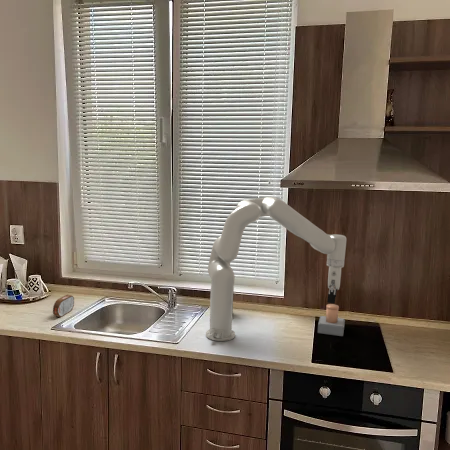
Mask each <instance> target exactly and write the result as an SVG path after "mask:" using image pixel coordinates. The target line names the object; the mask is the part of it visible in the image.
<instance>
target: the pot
mask: <svg viewBox="0 0 450 450" xmlns="http://www.w3.org/2000/svg"><path fill="white" fill-rule="evenodd" d="M339 308H340V307H339V305H338V304H335V303H334V304H333V303H327V304H326V309H325V311H326V312H325V316H326V322H328V323H337V322H338V318H339V310H340V309H339Z"/></svg>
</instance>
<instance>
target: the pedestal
mask: <svg viewBox="0 0 450 450" xmlns="http://www.w3.org/2000/svg"><path fill="white" fill-rule="evenodd" d="M345 322H346V320H345V318H340V317H338V322H337V323H328V322H326V315H325V316H324V315H320V316H319V320H318V324H317V334H324V335H330V336H339V337H344V330H345Z"/></svg>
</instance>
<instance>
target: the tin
mask: <svg viewBox="0 0 450 450" xmlns="http://www.w3.org/2000/svg"><path fill="white" fill-rule="evenodd" d="M74 306H75V297H74V295H71V294H65V295H63V296H61V297H60V298H57V299H56V301H54V304H53V305H52V313H53V316H54V317H58V318H62V317H63V316H65V315H67V314H68V313H70V312H72V310H73V309H74Z"/></svg>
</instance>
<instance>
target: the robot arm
mask: <svg viewBox="0 0 450 450" xmlns="http://www.w3.org/2000/svg"><path fill="white" fill-rule="evenodd" d="M263 217H270V218H272V219H273V220H274V221H275V222H277V223H278V224H280V225H281V226H282V227H283V228H285V229H286V230H287V231H288V232H289V233H292V234H293V235H294V236H297V238H298V237H299V238H301V239H302V240H304V241H305V242H307V243H308V244H309V245H310V247H311V248H312V249H314V250H316V251H317V252H320V253H321V254H324V255H326V266H327V267H328V273H327V274H328V275H327V276H328V277H327V288H328V289H329V290H328V293H327V301H326V302H327V304H335V303H336V298H337V291H339V290H340V286H341V279H342V278H341V277H342V268H344V267H345V257H346V248H347V237H346V236H345V235H343V234H336V233H335V234H334V233H333V234H328V233H326V232H325V231H323V229H321V228H319V227H318V226H316V224H314V223H312V221H310V220H309V219H307V218H306V217H304V216H303V215H302V214H300V213H299V212H298V211H296V210H295V209H294V208H293V207H291V206H290V204H289V205H288V204H287V203H286V202H285V201H284V200H282V199H280V198H278V197H274V196H267V197H258V198H251V199H250V198H249V199H243V200H241V201H239V202H238V204H236V207H235V209H234V210H233V211H232V212H231V213H230V214H229V215H228V216H227V218H226V220H225V222H224V225H223V228H222V232H221V235H220V236H219V237H217V238H216V239H215V240H214V242H213V244H212V248H211V251H210V257H209V260H208V265H207V273H208V276H209V278H210V279H211V285H210V295H209V296H210V297H209V299H210V300H209V301H210V302H209V304H210V306H209V307H210V308H209V309H210V310H209V329H207V330H206V331H205V337H206V338H208V339H209V340H211V341H212V340H213V341H216V342H227V341H231V340H233V339H234V338H235V337H236V333H235V331H234V330H233V313H232V307H233V308H234V291H233V287H234V286H235V280H236V279H235V273H234V269H233V268H232V267H231V266H230V265H231V262H233V261H234V260H236V258H237V257H238V256H239V251H240V246H241V242H242V237H243V235H244V234H243V233H244V231H245V229H246V228H247V226H249V225H250V224H251V223H255V222H256V221H257V222H258V220H259V219H260V218H263ZM234 288H235V287H234Z"/></svg>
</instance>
